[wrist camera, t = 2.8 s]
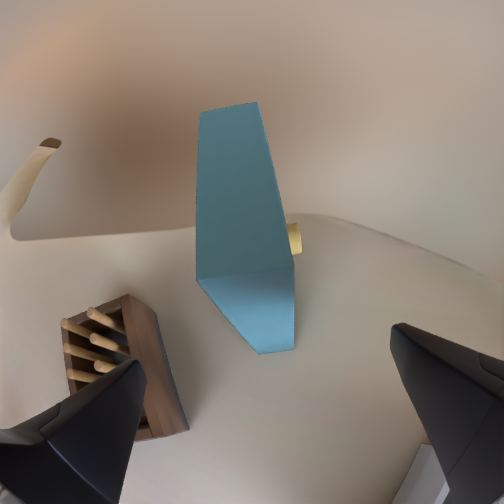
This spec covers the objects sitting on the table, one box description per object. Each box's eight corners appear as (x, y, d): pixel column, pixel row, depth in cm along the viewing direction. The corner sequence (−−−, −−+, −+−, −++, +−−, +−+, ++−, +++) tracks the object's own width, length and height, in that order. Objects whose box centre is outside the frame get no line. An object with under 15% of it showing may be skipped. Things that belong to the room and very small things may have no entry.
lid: (313, 346, 19) (347, 257, 7) (257, 354, 20) (195, 281, 7) (295, 249, 23) (289, 97, 11) (247, 257, 23) (199, 112, 11)
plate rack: (190, 429, 17) (149, 440, 12) (116, 443, 17) (64, 448, 11) (155, 312, 22) (113, 282, 17) (92, 335, 22) (43, 313, 16)
